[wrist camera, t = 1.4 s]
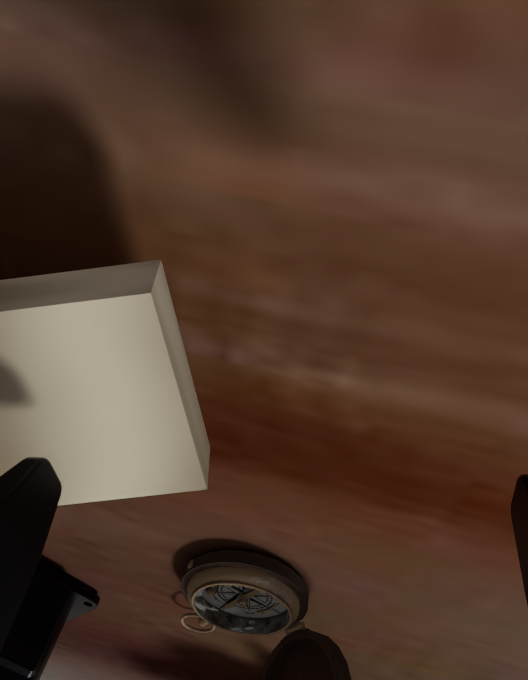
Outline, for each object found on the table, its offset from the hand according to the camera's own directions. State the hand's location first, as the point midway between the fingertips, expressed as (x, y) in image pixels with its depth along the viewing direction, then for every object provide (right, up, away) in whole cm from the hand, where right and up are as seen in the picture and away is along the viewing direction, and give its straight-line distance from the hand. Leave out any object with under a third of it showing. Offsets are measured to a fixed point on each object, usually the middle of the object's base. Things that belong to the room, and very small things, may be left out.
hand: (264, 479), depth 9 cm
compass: (-1, -10, +16) cm, 19 cm away
